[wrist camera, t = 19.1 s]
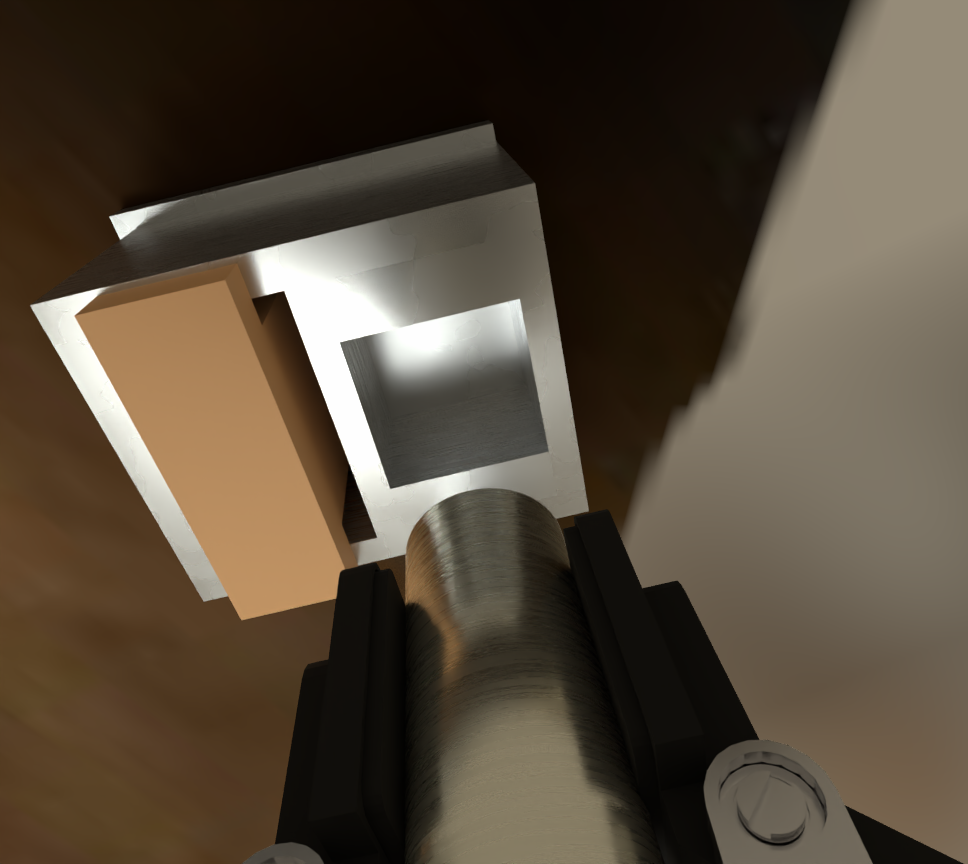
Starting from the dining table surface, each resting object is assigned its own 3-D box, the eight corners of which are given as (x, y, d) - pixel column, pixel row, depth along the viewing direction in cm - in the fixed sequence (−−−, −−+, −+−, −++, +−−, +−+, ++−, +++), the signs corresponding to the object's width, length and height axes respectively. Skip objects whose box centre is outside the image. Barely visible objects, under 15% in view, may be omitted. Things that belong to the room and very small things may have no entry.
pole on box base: (120, 209, 22) (-969, 885, 4) (488, 119, 21) (850, 457, 4) (287, 559, 29) (127, 1304, 12) (559, 494, 29) (791, 1157, 12)
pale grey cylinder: (385, 509, 11) (353, 1237, 4) (549, 471, 11) (770, 1148, 4) (428, 625, 13) (451, 1310, 6) (573, 591, 13) (769, 1246, 6)
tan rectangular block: (181, 223, 21) (73, 315, 14) (282, 200, 21) (225, 279, 14) (284, 462, 25) (241, 619, 19) (367, 443, 25) (355, 594, 19)
